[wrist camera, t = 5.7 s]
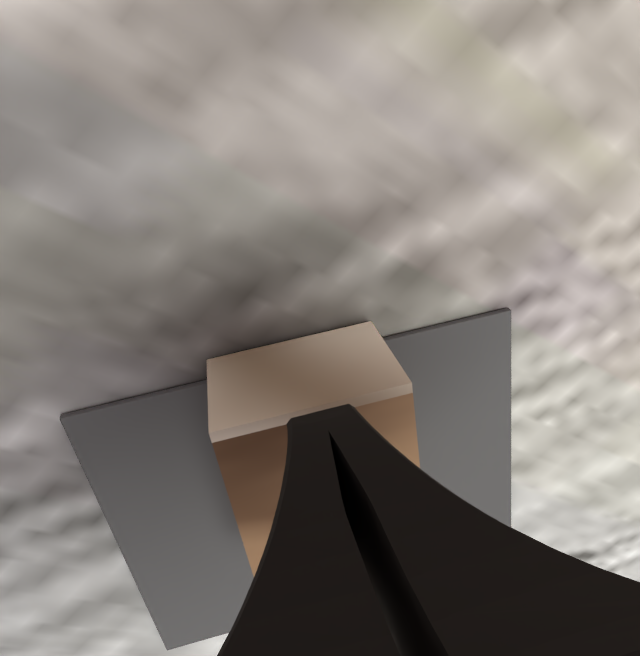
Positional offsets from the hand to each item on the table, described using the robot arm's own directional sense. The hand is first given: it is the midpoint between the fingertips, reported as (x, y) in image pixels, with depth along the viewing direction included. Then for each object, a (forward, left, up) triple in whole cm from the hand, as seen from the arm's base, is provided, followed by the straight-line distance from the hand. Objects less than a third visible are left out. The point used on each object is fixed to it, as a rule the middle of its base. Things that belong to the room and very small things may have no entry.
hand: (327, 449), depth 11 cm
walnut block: (0, 0, -4) cm, 4 cm away
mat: (0, -6, -6) cm, 9 cm away
